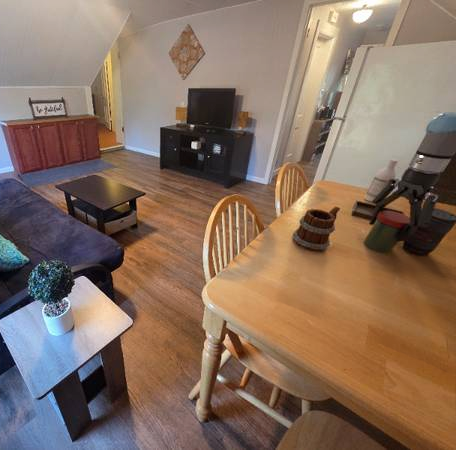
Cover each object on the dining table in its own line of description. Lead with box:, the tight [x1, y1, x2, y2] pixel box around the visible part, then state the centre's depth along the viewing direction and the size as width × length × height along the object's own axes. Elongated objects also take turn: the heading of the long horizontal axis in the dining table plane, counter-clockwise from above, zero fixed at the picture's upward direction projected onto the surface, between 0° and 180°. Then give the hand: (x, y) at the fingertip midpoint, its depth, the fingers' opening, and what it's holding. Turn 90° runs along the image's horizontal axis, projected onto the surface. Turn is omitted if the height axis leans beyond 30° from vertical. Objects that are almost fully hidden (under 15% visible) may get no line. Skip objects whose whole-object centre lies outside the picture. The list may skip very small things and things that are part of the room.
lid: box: [377, 210, 410, 228], centre depth 82 cm, size 9×9×2 cm
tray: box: [351, 200, 405, 221], centre depth 106 cm, size 17×13×2 cm
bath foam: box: [364, 158, 399, 203], centre depth 114 cm, size 7×7×20 cm
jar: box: [363, 219, 403, 254], centre depth 85 cm, size 8×8×12 cm
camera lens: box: [401, 207, 456, 257], centre depth 82 cm, size 8×8×15 cm
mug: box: [292, 206, 341, 252], centre depth 86 cm, size 12×14×15 cm
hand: (385, 231), depth 84 cm, fingers open, 10 cm apart
